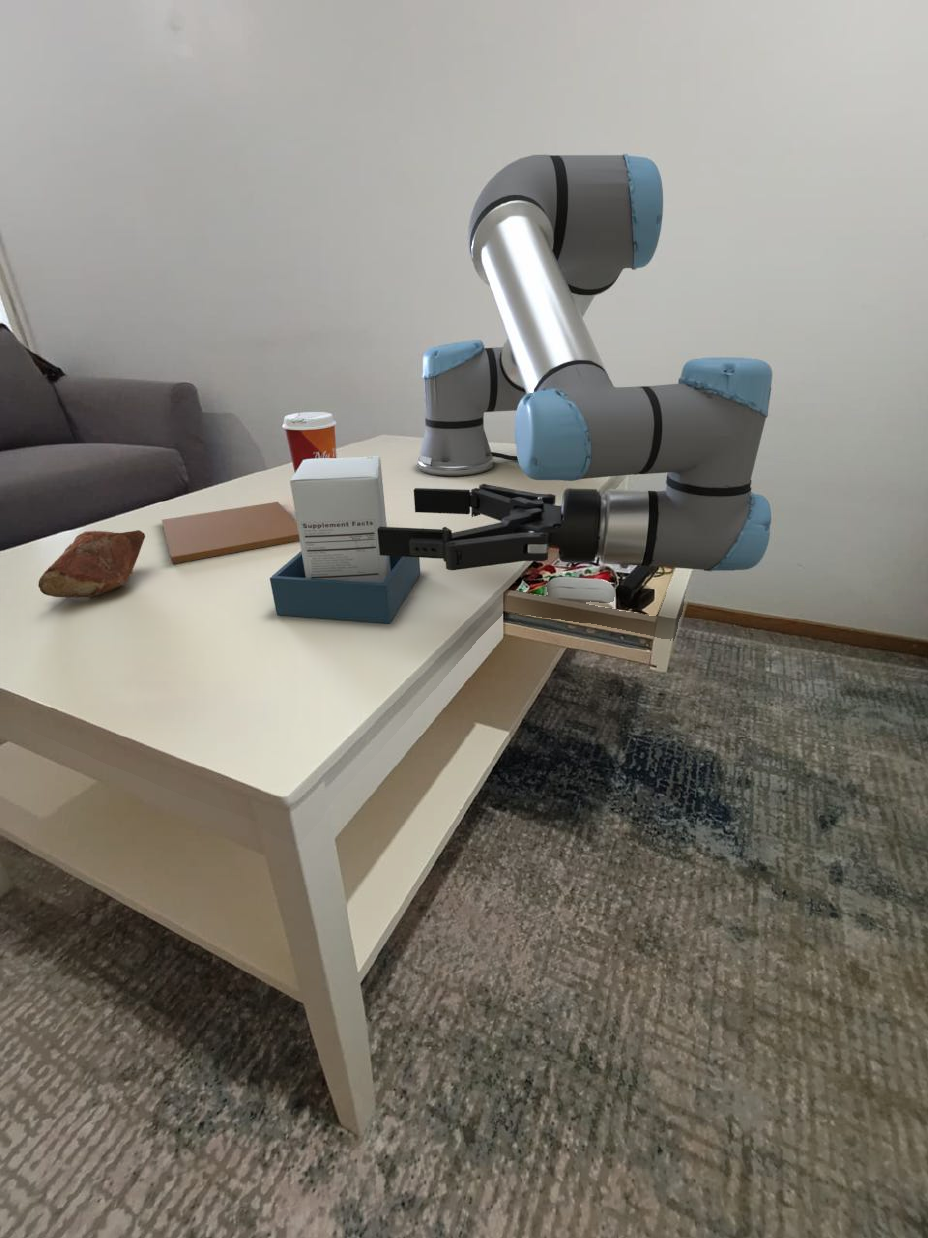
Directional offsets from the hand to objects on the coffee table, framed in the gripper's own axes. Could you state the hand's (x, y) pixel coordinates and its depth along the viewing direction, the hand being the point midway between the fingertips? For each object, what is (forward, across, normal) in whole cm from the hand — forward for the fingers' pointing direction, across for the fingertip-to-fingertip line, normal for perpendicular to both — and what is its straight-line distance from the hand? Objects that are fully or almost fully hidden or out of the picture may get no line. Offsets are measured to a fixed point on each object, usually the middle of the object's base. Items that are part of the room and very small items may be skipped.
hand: (398, 518), depth 64 cm
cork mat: (+32, +18, -10) cm, 38 cm away
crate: (+6, 0, -10) cm, 11 cm away
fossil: (+37, -3, -10) cm, 39 cm away
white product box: (+6, 0, -10) cm, 12 cm away
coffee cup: (+23, +30, -10) cm, 39 cm away
